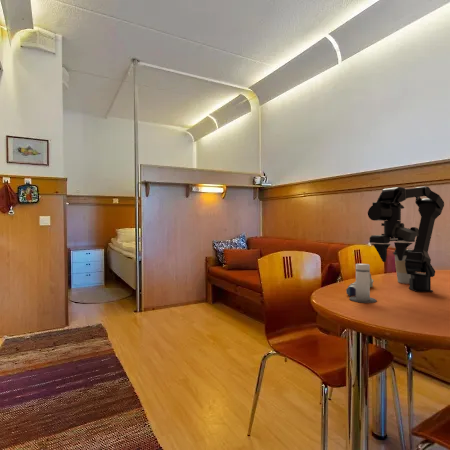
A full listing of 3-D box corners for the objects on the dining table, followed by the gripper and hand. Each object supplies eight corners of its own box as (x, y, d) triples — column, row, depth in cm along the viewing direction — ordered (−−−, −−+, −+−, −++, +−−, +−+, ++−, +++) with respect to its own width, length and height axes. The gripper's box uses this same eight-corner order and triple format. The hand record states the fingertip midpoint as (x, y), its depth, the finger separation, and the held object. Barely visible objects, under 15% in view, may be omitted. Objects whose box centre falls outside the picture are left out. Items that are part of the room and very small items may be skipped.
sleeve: (369, 298, 113) (369, 263, 112) (370, 301, 108) (370, 265, 108) (355, 297, 114) (355, 263, 114) (356, 300, 110) (355, 265, 110)
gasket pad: (370, 297, 115) (370, 296, 115) (380, 303, 106) (380, 302, 106) (346, 296, 116) (345, 295, 116) (354, 302, 107) (354, 302, 107)
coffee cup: (421, 284, 138) (421, 250, 138) (400, 284, 138) (399, 251, 138) (408, 280, 147) (408, 249, 147) (389, 280, 148) (388, 249, 147)
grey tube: (344, 285, 119) (361, 268, 138) (344, 302, 119) (362, 283, 139) (358, 287, 115) (374, 269, 135) (359, 304, 116) (375, 284, 136)
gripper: (395, 220, 107) (395, 265, 107) (428, 220, 115) (429, 262, 115) (368, 220, 117) (368, 261, 117) (400, 220, 125) (400, 259, 125)
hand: (392, 261), depth 118 cm, fingers open, 9 cm apart
